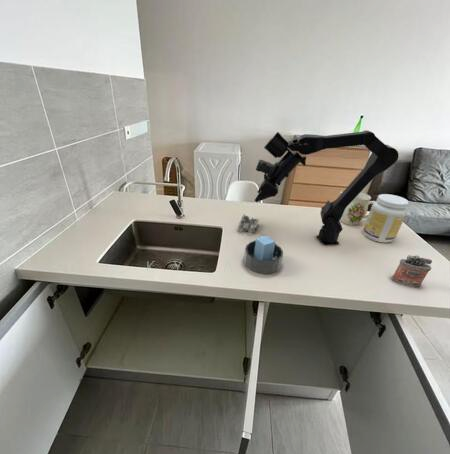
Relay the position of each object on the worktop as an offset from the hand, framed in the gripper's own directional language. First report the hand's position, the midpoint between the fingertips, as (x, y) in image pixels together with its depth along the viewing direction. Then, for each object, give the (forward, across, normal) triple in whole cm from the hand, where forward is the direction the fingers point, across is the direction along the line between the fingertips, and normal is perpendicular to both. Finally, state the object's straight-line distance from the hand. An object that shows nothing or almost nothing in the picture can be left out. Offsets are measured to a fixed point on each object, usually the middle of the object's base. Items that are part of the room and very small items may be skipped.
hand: (256, 196), depth 95 cm
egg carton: (+14, 0, +7) cm, 15 cm away
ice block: (+8, +23, +13) cm, 28 cm away
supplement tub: (-17, -11, +51) cm, 55 cm away
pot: (+9, +23, +13) cm, 28 cm away
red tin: (-17, +19, +51) cm, 57 cm away
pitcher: (-12, -21, +44) cm, 51 cm away
